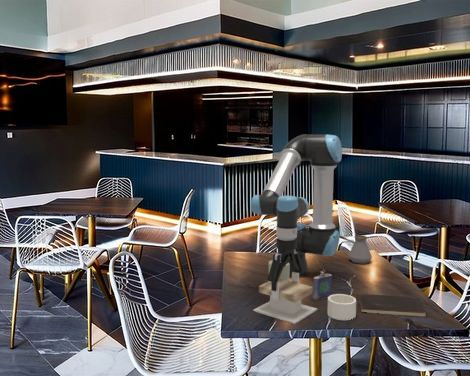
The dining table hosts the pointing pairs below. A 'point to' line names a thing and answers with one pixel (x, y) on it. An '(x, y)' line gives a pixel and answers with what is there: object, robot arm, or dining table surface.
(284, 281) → the wavy beige panel
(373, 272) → the dining table surface
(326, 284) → the flask
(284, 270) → the can
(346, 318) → the bowl
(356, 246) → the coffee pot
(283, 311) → the stand
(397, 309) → the hardcover book
